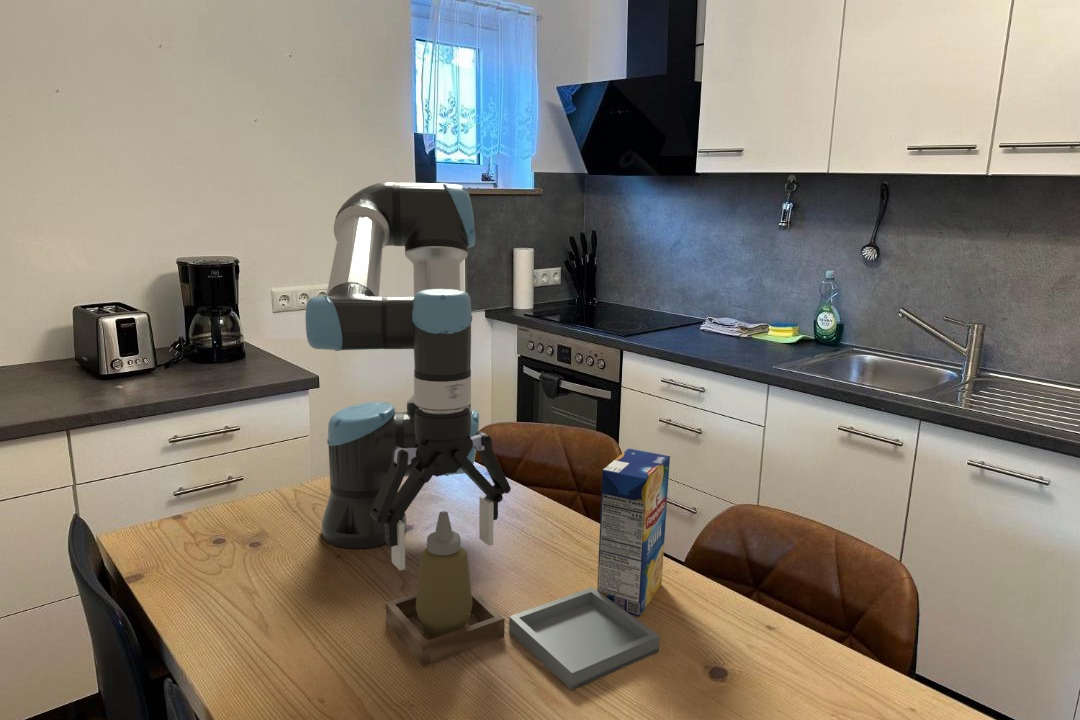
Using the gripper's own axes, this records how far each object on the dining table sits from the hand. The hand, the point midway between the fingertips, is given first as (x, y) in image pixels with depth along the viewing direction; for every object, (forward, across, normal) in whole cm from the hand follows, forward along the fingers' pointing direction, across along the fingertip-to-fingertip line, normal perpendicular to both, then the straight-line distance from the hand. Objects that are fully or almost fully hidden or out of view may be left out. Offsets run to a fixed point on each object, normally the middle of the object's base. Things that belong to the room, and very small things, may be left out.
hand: (443, 553), depth 102 cm
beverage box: (+12, +29, -6) cm, 32 cm away
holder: (+12, 0, 0) cm, 12 cm away
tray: (+12, +15, -12) cm, 23 cm away
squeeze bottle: (+12, 0, 0) cm, 12 cm away
